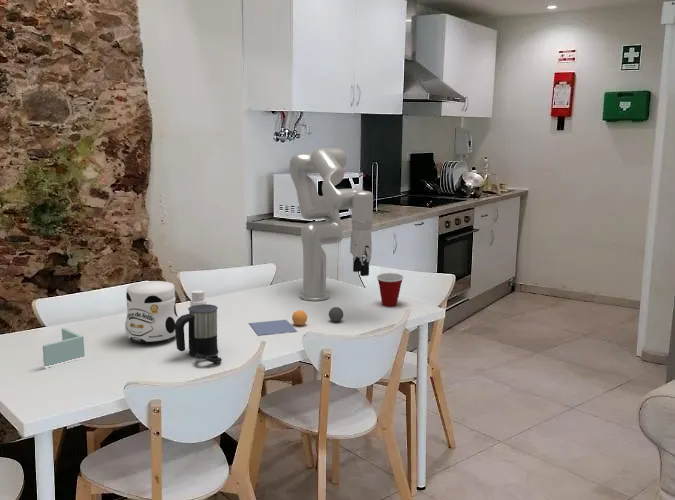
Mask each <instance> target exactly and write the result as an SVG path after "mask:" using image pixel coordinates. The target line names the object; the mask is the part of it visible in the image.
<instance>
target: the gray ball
mask: <svg viewBox="0 0 675 500" xmlns="http://www.w3.org/2000/svg"><path fill="white" fill-rule="evenodd" d="M328 317H329V319H330V321H332V322H334V323H337V322H341V320H342V319H343V318H344V311H343V310H342V308H340V307H338V306H334V307H332V308H331V309H329V311H328Z"/></svg>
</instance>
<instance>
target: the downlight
mask: <svg viewBox="0 0 675 500" xmlns="http://www.w3.org/2000/svg"><path fill="white" fill-rule="evenodd" d="M205 294H206V293H205V290H201V289H200V290H198V289H197V290H192V291H191V299H190V300H189V305H190V306H189V307H191V306H194V305H200V304H207V300H206V299H205Z"/></svg>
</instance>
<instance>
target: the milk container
mask: <svg viewBox="0 0 675 500" xmlns="http://www.w3.org/2000/svg"><path fill="white" fill-rule="evenodd" d="M126 287H127V288H126V293H125V295H126V297H125V298H126V310H127V312H126V313H127V314H126V318H125V322H124V328H125V329H124V330H125V335H126V337H127V338H128V339H129V340H130V341H132V342H134V343H139V344H159V343H163V342H167V341H169V340H171V339H173V338H174V337H175V338H176V334H175V323H176V321H177V319H178V318H179V317H178V316H179V315H178V313H177V309H176V307H177V306H176V289H175V288H176V287H175V284H174V283H172V282H169V281H161V280H151V281H149V280H147V281H139V282H136V283H135V282H134V283H132V284H129V285H128V286H126Z"/></svg>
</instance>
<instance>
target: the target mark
mask: <svg viewBox="0 0 675 500" xmlns="http://www.w3.org/2000/svg"><path fill="white" fill-rule="evenodd" d="M248 325H250V327H251V328H252V330H253V332H255V333H256V335H257V336H259V337H260V336H267V335H276V334H275V333H279V334H286V333H285V332H289V333H296V332H295V331H297V332H298V330H297V329H296V328H295V327H294V326H293V325H292V323H290V322H289V321H288V320H287V319H280V320H279V319H278V320H269V321H258V322H250V323H249V322H248Z"/></svg>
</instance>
